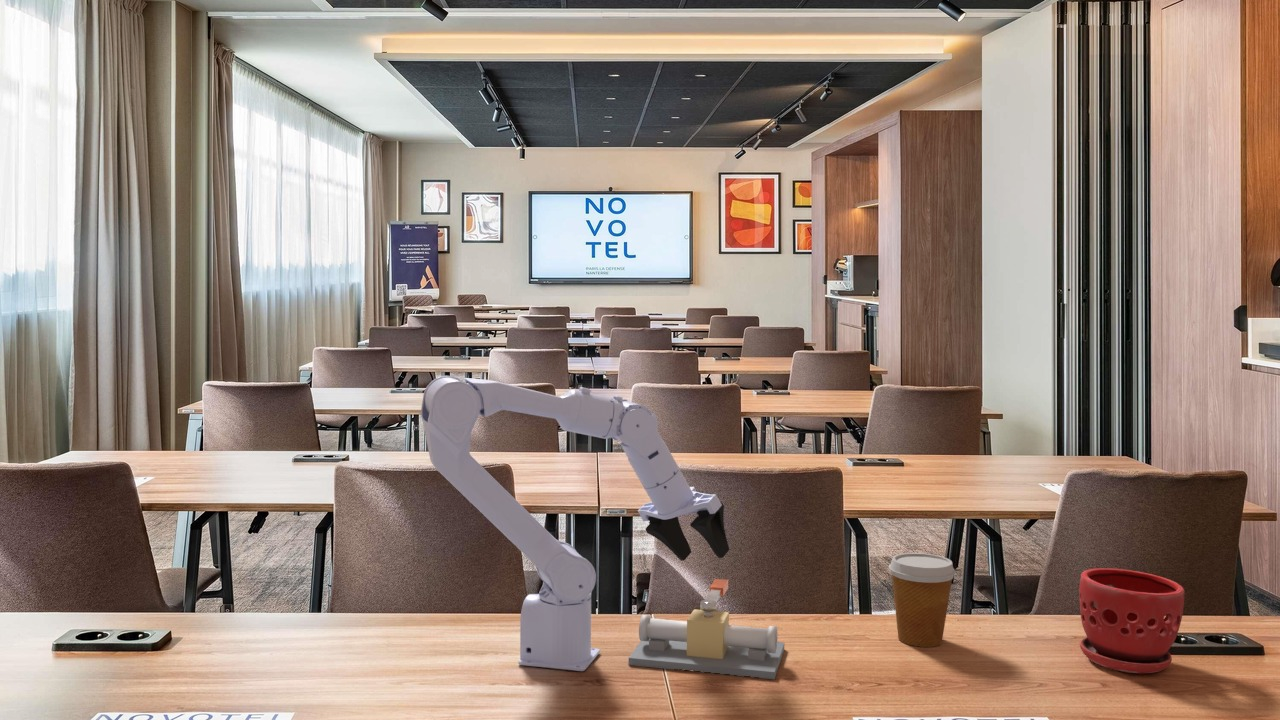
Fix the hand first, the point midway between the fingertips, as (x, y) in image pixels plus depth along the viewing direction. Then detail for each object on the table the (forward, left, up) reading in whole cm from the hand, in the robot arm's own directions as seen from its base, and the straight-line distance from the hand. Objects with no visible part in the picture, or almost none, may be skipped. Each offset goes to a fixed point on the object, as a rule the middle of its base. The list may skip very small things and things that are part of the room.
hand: (704, 555), depth 149 cm
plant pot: (+59, +9, -13) cm, 61 cm away
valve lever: (+2, 0, -6) cm, 6 cm away
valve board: (+2, -5, -13) cm, 14 cm away
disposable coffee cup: (+31, +11, -13) cm, 35 cm away
